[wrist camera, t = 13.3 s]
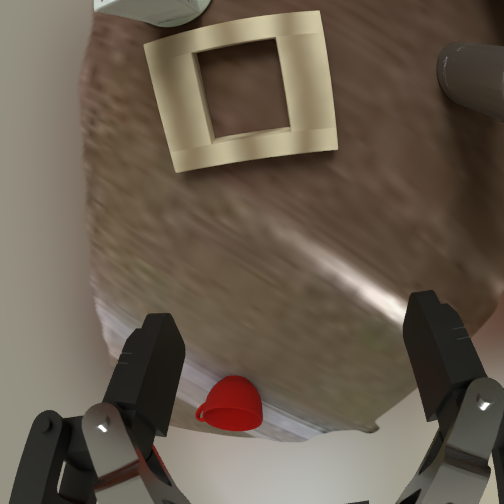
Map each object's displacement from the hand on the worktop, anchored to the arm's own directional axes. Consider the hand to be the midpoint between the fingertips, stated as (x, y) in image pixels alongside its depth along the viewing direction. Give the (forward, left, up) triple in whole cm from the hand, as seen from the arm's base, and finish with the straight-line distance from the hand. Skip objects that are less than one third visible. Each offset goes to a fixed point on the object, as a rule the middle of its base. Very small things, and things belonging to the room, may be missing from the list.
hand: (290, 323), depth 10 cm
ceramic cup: (+18, +55, -33) cm, 66 cm away
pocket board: (+3, -5, -32) cm, 33 cm away
